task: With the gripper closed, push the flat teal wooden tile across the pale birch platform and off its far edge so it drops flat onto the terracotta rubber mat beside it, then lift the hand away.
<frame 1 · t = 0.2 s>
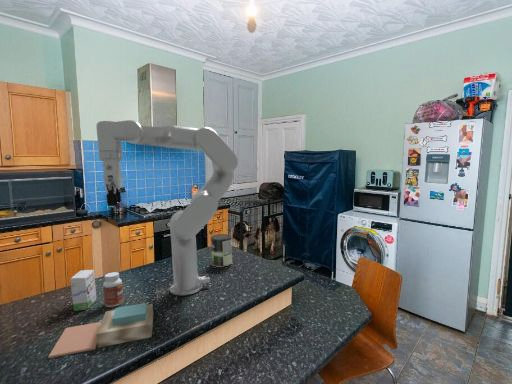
hand: (114, 203, 105), 36 cm above the counter, tool pointing down, fingers open, 9 cm apart
tile: (130, 316, 88), point 4 cm above the counter, touching platform
pill bottle: (114, 304, 105), on the counter
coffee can: (222, 264, 143), on the counter
mat: (79, 338, 84), on the counter
ink box: (85, 305, 105), on the counter
platform: (128, 329, 88), on the counter
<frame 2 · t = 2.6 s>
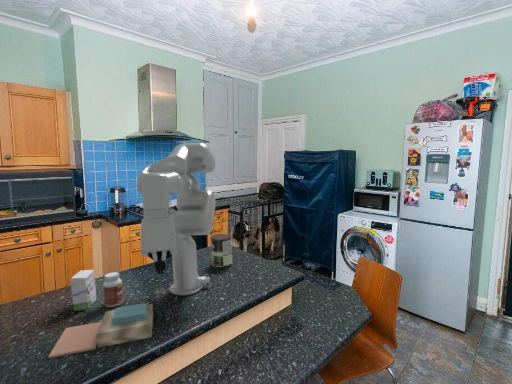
hand: (160, 272, 89), 17 cm above the counter, tool pointing down, fingers closed
nothing on the counter moved.
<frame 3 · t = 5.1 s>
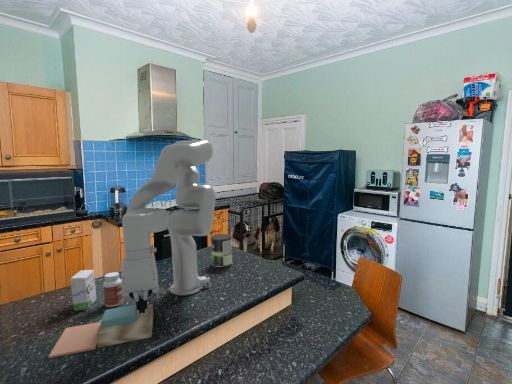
hand: (142, 311, 88), 5 cm above the counter, tool pointing down, fingers closed
tile: (120, 318, 87), point 4 cm above the counter, touching platform
everything else where it was.
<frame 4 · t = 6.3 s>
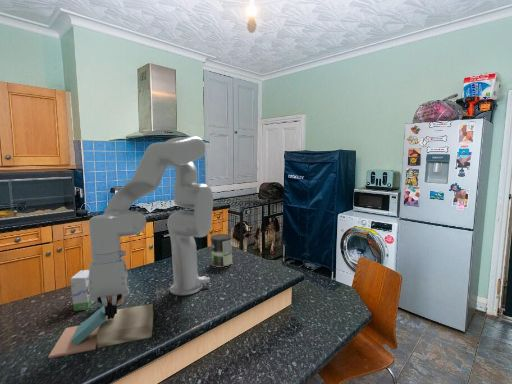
hand: (111, 316, 86), 5 cm above the counter, tool pointing down, fingers closed
tile: (92, 327, 84), point 3 cm above the counter, tilted 36°, touching gripper
everything else where it was.
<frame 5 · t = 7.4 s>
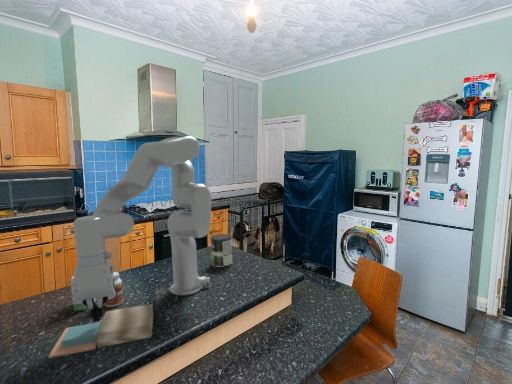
hand: (97, 319, 85), 5 cm above the counter, tool pointing down, fingers closed
tile: (84, 337, 83), point 1 cm above the counter, touching mat
everything else where it was.
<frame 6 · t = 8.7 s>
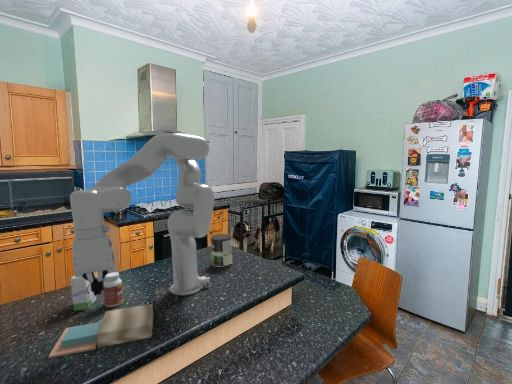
hand: (98, 293, 85), 13 cm above the counter, tool pointing down, fingers closed
nothing on the counter moved.
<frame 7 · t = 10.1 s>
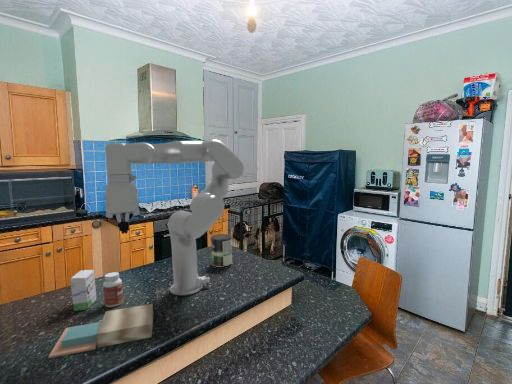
hand: (124, 232, 99), 27 cm above the counter, tool pointing down, fingers closed
nothing on the counter moved.
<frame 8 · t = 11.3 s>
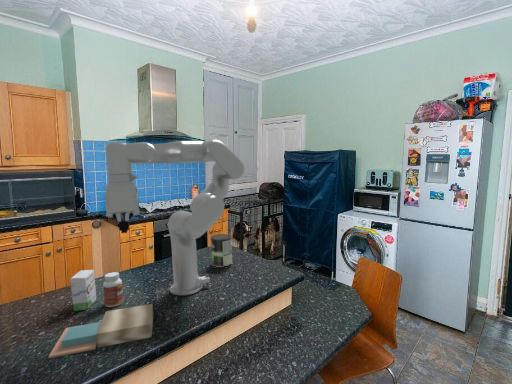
hand: (124, 232, 99), 27 cm above the counter, tool pointing down, fingers closed
nothing on the counter moved.
at the end: tile inside the target area (1.5 cm from its centre), point 0.6 cm above the counter; tile tilted 0°; tile touching mat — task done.
